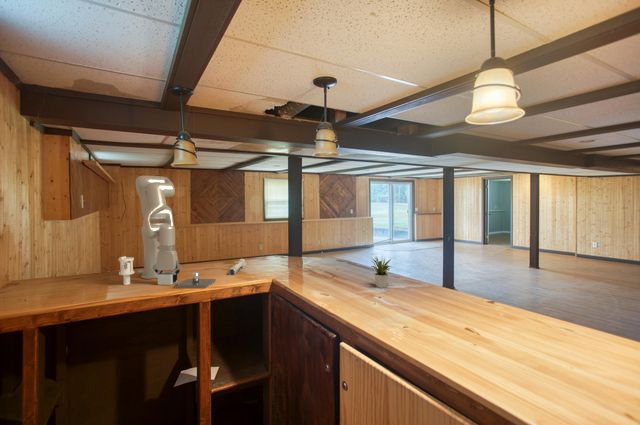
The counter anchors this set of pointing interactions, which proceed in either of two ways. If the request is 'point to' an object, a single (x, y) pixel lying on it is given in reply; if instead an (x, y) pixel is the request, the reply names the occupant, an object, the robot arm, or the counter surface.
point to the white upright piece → (126, 268)
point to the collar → (166, 278)
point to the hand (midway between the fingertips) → (167, 281)
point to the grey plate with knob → (195, 282)
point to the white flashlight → (237, 267)
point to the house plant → (381, 272)
